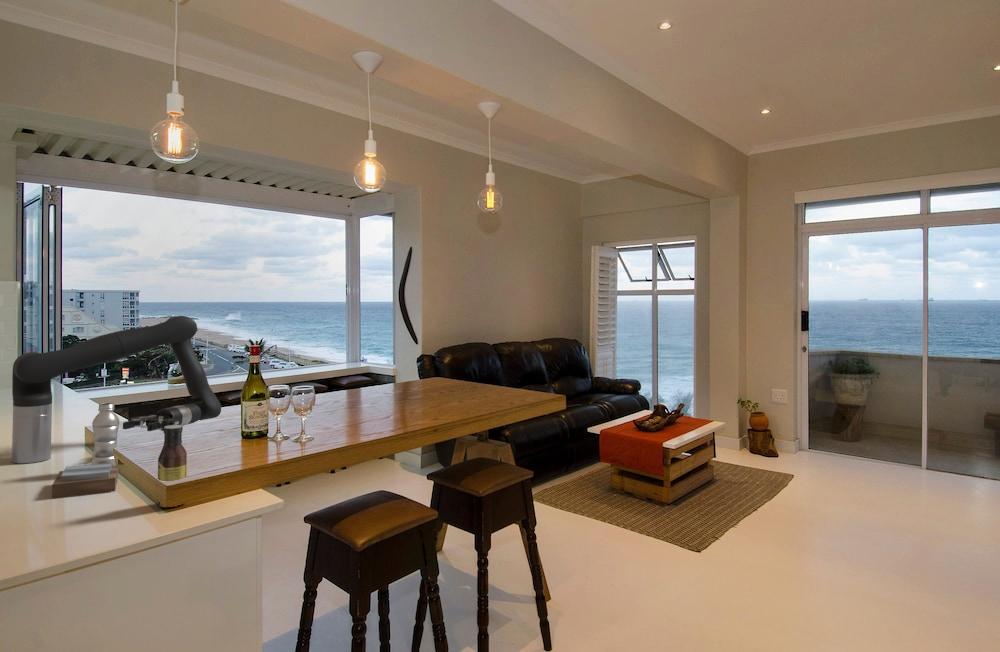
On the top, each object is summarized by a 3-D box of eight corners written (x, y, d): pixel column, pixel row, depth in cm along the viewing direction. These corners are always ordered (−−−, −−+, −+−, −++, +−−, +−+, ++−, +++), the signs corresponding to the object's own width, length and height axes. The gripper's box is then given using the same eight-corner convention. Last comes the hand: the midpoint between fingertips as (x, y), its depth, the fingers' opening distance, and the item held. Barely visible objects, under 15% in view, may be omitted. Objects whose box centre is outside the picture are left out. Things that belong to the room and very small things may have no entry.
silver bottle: (124, 470, 163) (125, 403, 163) (101, 476, 157) (102, 406, 156) (108, 467, 165) (110, 401, 165) (85, 473, 159) (87, 404, 158)
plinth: (59, 484, 149) (60, 465, 149) (117, 478, 156) (118, 460, 155) (51, 498, 138) (52, 478, 138) (114, 491, 145) (115, 472, 144)
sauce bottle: (165, 500, 139) (167, 422, 139) (191, 500, 140) (193, 423, 140) (151, 509, 133) (153, 428, 133) (178, 510, 133) (180, 428, 133)
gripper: (155, 405, 189) (115, 413, 173) (192, 408, 187) (156, 416, 171) (154, 427, 189) (115, 437, 173) (192, 430, 187) (156, 440, 171)
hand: (136, 427), depth 172 cm, fingers open, 8 cm apart
